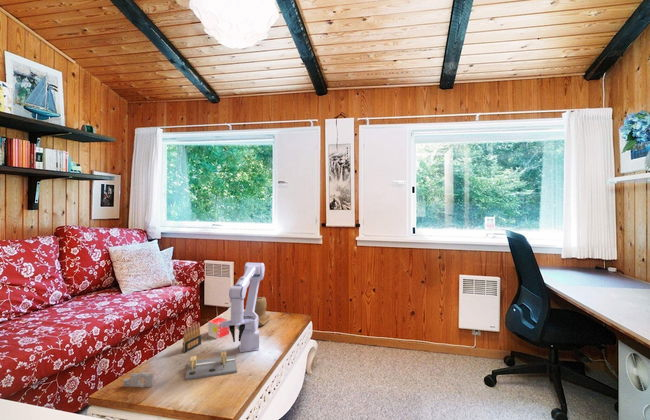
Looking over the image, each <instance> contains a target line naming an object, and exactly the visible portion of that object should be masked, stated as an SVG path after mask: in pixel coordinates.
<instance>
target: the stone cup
mask: <svg viewBox="0 0 650 420" xmlns="http://www.w3.org/2000/svg"><path fill="white" fill-rule="evenodd" d="M267 303H268V302H267V299H266V297H265V296H262V297H261V296H257V299H256V305H255V311H254V312H255V313H256V314H257V315H258V317H259V319H258V327H261V326H263V325H265V324H266V323H267V322H269V320H270V319H271V315H266V311H267V306H268V305H267Z"/></svg>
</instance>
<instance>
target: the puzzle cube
mask: <svg viewBox="0 0 650 420" xmlns="http://www.w3.org/2000/svg"><path fill="white" fill-rule="evenodd" d="M225 321H230V319H226V318H223V317H221V316H220V317H217V318H214V319H210V320H208V323H207V326H208V327H207V331H208V332H207V333H208V334H207V335H208V336H209V337H212V338H214V339H216V340H218V339H221V338H222V337H225V336H229V334H230V330H229V326H228V327H223V328H221V322H225Z"/></svg>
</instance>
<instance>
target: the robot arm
mask: <svg viewBox="0 0 650 420" xmlns="http://www.w3.org/2000/svg"><path fill="white" fill-rule="evenodd" d="M243 269H244V273H243V275H242V276H240V277H239V278H238V280H237V281H236V283H235V285H233V286H231V287H230V288H229V290H228V296H229V297H228V298H229V303H230V319H229V321H225V322H221V328H223V327H228V326H229V333H230V334H231V337H232V341H233V343H235V341H236V337H235V335H236V334H235V333H236V329H237V330H238V342H240V344H239V345H238V347H239V353H243V352H244V353H245V352H251V351H259V350H260V331H259V329H258V328H259V326H258V319H259V317H258V315H257V314H256V313H255V312H254V311H255V305H256V299H257V297H258V292H259V288H260V282H261V281H263V280H264V277H265V272H266V271H265V270H266V266H265V264H264V262H249V261H248V262H246V263H245V264H244V268H243ZM248 288H249V289H248ZM247 289H248V294H247ZM246 294H247V298H246ZM245 298H246V299H247V300H246V305H245V306H244V303H245V301H244V300H245ZM244 307H245V309H244ZM235 327H236V329H235Z"/></svg>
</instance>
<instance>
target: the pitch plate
mask: <svg viewBox="0 0 650 420" xmlns="http://www.w3.org/2000/svg"><path fill="white" fill-rule="evenodd" d="M235 373H238V368H237V359H236V355H234V354H233V355H228V356H227V355H226V362H225V368H223V362H221V356H218V357H212V358H204V359H199V360H197V355H195V356H194V355H193V356H190V359H189V361H188V362H187V368H186V372H185V381H189V380H195V379H200V378H201V379H202V378H210V377H215V375H216V376H223V375H227V374H235ZM209 376H210V377H209Z"/></svg>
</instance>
